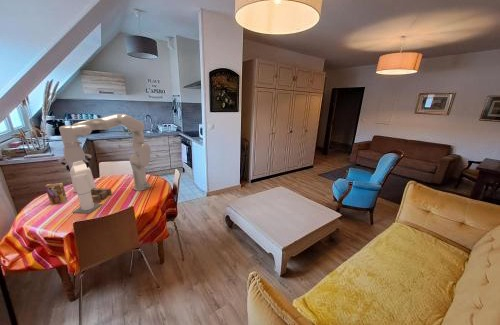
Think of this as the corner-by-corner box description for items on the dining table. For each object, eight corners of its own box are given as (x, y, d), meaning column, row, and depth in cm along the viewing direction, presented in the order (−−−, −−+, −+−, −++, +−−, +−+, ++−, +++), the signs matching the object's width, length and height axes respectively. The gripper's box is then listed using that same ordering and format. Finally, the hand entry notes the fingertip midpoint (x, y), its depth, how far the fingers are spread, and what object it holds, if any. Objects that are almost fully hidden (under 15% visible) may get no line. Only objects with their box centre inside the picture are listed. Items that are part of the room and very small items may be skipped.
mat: (102, 204, 150) (101, 203, 149) (89, 213, 138) (89, 212, 138) (86, 204, 150) (86, 203, 150) (72, 213, 138) (72, 212, 138)
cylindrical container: (82, 211, 139) (73, 178, 132) (81, 207, 144) (72, 175, 136) (94, 207, 144) (87, 176, 136) (93, 204, 149) (85, 173, 141)
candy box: (68, 200, 154) (62, 182, 150) (65, 203, 151) (59, 184, 146) (53, 201, 152) (48, 183, 147) (50, 204, 148) (44, 186, 143)
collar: (111, 194, 166) (110, 188, 165) (98, 202, 152) (97, 197, 151) (94, 193, 166) (93, 188, 165) (80, 202, 153) (78, 196, 151)
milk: (80, 194, 164) (72, 164, 156) (74, 190, 170) (66, 162, 162) (96, 189, 174) (90, 161, 166) (90, 185, 180) (83, 158, 172)
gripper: (87, 141, 137) (93, 164, 143) (53, 145, 126) (61, 170, 132) (89, 143, 132) (95, 167, 138) (53, 148, 121) (61, 173, 127)
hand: (78, 169), depth 135 cm, fingers open, 9 cm apart
